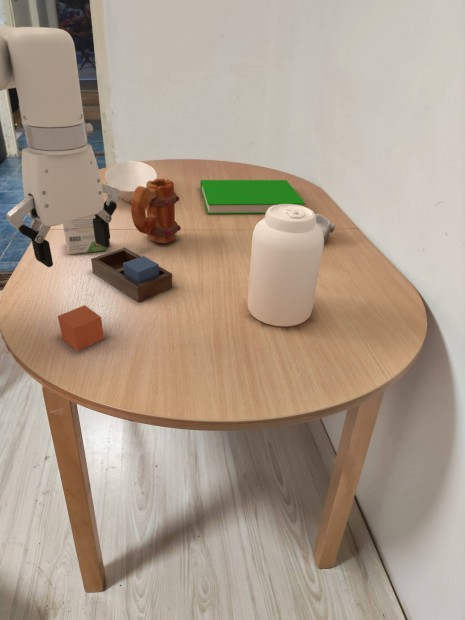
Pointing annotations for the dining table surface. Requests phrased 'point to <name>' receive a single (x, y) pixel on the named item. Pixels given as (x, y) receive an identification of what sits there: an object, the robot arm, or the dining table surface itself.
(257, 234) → the can
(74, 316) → the orange block
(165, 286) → the dark wooden tray
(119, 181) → the bowl
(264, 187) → the book
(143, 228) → the mug
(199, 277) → the dining table surface
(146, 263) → the cube blue
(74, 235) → the ink box
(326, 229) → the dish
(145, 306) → the dining table surface
